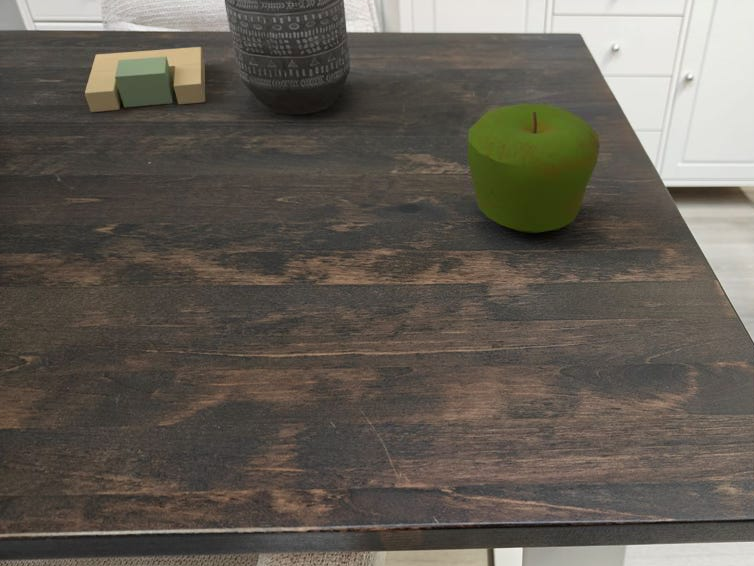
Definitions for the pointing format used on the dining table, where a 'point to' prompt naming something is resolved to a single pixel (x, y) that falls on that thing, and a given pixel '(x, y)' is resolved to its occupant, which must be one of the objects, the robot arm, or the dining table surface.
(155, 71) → the sage green rounded cube
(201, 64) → the u-shaped wooden block
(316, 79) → the planter
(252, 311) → the dining table surface
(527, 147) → the apple
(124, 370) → the dining table surface
